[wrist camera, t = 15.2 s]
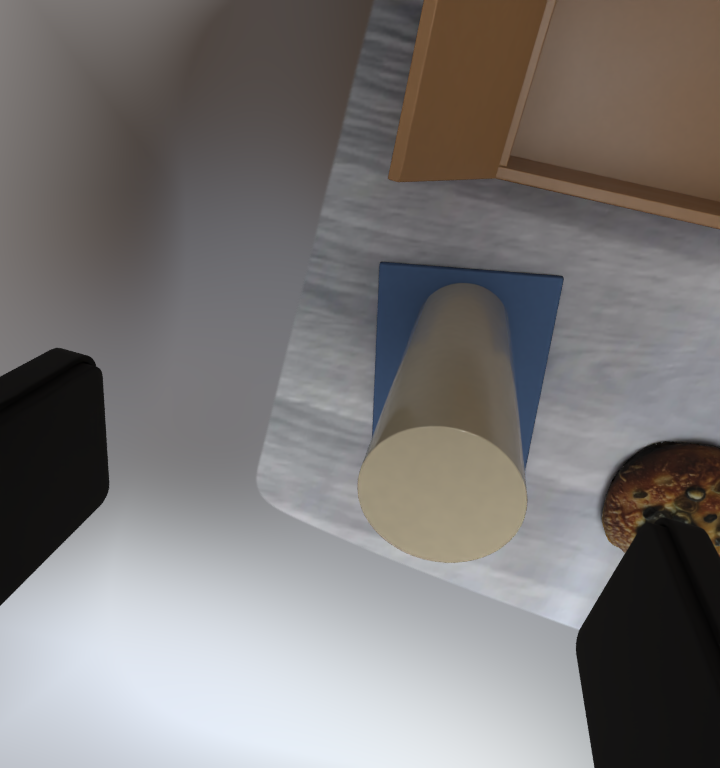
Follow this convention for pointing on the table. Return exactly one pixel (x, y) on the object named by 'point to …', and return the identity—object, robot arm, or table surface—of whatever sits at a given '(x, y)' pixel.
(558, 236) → the table surface
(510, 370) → the beige cylinder rod
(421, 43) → the flap
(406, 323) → the mat
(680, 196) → the carton
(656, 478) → the bread roll
